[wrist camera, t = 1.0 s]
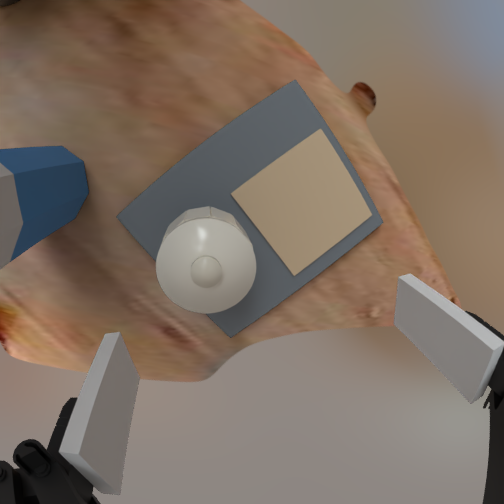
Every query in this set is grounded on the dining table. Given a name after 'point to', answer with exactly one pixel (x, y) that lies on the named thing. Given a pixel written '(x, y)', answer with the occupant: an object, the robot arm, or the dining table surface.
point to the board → (266, 198)
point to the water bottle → (37, 195)
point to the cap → (206, 261)
